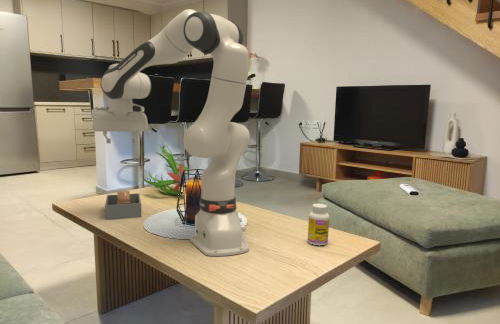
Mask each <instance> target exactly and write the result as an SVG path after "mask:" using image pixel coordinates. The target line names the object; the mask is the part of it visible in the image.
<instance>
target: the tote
mask: <svg viewBox="0 0 500 324" xmlns="http://www.w3.org/2000/svg"><path fill="white" fill-rule="evenodd" d="M104 207H105V209H104V211H105V213H104V214H105V221H108V220H120V219H123V220H125V219H132V218H133V219H134V218H135V219H136V218H137V219H138V218H142V201H141V195H140V193H130V204H118V205H117V194H107V195H106V198H105V203H104Z"/></svg>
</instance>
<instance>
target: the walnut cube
mask: <svg viewBox="0 0 500 324" xmlns="http://www.w3.org/2000/svg"><path fill="white" fill-rule="evenodd" d="M118 204H130V200H117V205H118Z"/></svg>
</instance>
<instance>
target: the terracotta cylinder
mask: <svg viewBox="0 0 500 324" xmlns="http://www.w3.org/2000/svg"><path fill="white" fill-rule="evenodd" d="M130 194H131V192H130V190H119V191H117V192H116V195H117V200H130Z"/></svg>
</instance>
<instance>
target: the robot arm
mask: <svg viewBox="0 0 500 324" xmlns="http://www.w3.org/2000/svg"><path fill="white" fill-rule="evenodd" d="M243 43H244V33H243V30H242V28H241V26H239V25H238V24H237V23H236V22H234V21H233V20H229V19H227V18H225V17H223V16H221V15H218V14H213V13H209V12H206V11H196V10H195V9H189V8H188V9H184V10H183V11H182V12H180V13H179V14H177V15H176V16H175V17H174V18H173V19H171V20H170V21H169V23H167V25H166V26H165V27H164V28H163V29H162V30H161V31H160V32H158V33H157V34H156V35H154V36H153V37H152V38H151V39H149V40H147V41H145V42H143V43H142V44H140V45H138V46H137V47H136V48H135V49H134V50H132V51H131V52H130V53H129V54H128V55H127V56H126V57H124V58H123V59H122V60H121V61H120V62H117V63H112V64H111V65H109V66H108V69H107V70H106V71H105V72H104V73H103V75H102V76H101V79H100V87H101V90H102V92H103V93H104V95H106V96H107V106H96V107H94V108H92V109H91V110H90V111H91V117H92V130H93V131H94V132H102V135H103V136H104V138H105V139H106V140H105V141H106V144H111V143H112V142H111V141H112V140H111V138H109V137H108V136H107V135H108V132H134V134H135V137H133V138H131V141H132V142H131V143H132V144H136V143H137V138H138V136H139V135H140V132H148V131H149V122H148V117H147V115H146V113H145V107H144V106H143V105H139V104H138V103H137V104H136V103H134V102H133V99H136V100H137V99H138V100H140V99H145V98H147V97H149V95H150V93H151V92H152V82H151V79H150V77H149V76H148V75H147V74H146V73H143V72H141V71H143V70H144V69H146V68H149V67H151V66H158V65H171V64H172V65H173V64H177V63H178V62H179V63H180V61H182V60H184V59H185V58H186V57H187V56H188V55H189V54H190V53H191V52H192V51H193V50H194V49H196V50H198V51H199V52H201V54H204V55H206V56H207V55H209V54H210V56H211V57H212V60H213V65H212V66H213V67H212V72H211V77H210V83H209V89H208V94H207V97H206V101H205V104H204V106H203V109H202V111H201V113H200V114H199V116H198V117H197V119H196V120H195V121H194V122H193V123H192V124H191V125H190V126H188V128H186V130H185V132H184V134H183V146H184V148H185V150H186V152H187V153H188V155H190V156H192V157H195V158H203V159H209V158H211V159H210V162H209V164H208V165H207V167H206V168H205V169H204V170H203V171H202V174H201V177H200V179H201V180H200V181H201V183H200V187H201V189H200V192H201V193H200V194H201V195H200V197H199V209H200V210H199V211H198V212H197V213H196V214H195V217H194V234H193V235H191V236H189V241H190V242H191V243H192V244H193V245H194V246H195V247H196V248H198V249H199V250H200V251H201V253H202V254H204V255H205V256H211V257H225V256H226V257H227V256H232V255H239V254H240V255H241V254H244V253H247V252H249V251H250V247H249V244H248V241H247V238H246V234H245V232H246V225H245V224H241V223H242V221H243V219H242V218H241V217H240V216H239V211H238V210H237V200H236V196H235V189H236V188H235V187H236V185H235V184H236V173H237V169H238V165H239V163H240V160H241V158H242V155H243V154H244V152H245V151H246V149H248V147H249V145H250V142H251V134H250V131H249V129H248V128H247V127H246V126H245V125H244V124H241V123H237V122H234V121H231V120H232V119H233V117H234V116H235V115H236V114H238V112H240V110H241V109H242V106H243V104H244V100H245V99H244V98H245V93H246V87H247V84H248V83H247V82H248V75H249V67H250V55H249V54H250V53H249V50H248V49H247V48H246V46H244V45H243Z"/></svg>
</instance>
